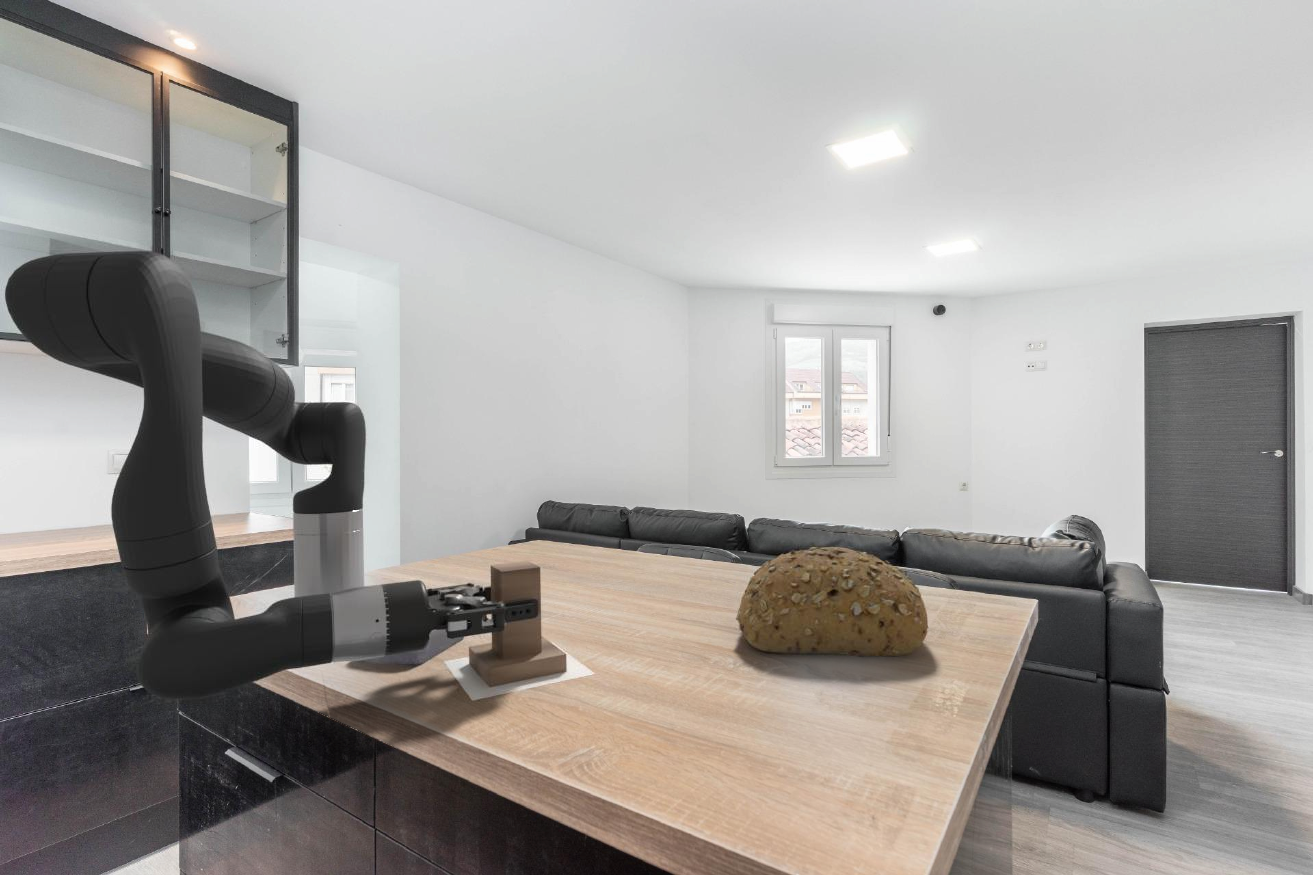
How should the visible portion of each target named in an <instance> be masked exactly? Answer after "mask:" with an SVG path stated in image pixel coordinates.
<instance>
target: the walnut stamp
mask: <svg viewBox="0 0 1313 875" xmlns="http://www.w3.org/2000/svg"><path fill="white" fill-rule="evenodd" d="M490 586H491V601H494V602H498V601H502V602H504V601H511V600H518V599H525V598H535V599H537V600H538V616H537V617H536V618H533V619H526V620H520V621H514V622H508V623H506V625H505V630H504V631H501V632H492V633H491V642H488V643H482V644H477V645H476V644H475V645H472V646H468V657H469V664H470V665H471V666H472V667H473V668H474V670H475V671H476V672H477V673H478V674H479V675H480V677H481V678H482V679H483V680H484V681H485V682H486V684H487V685H488V686H489V687H494V686H498V685H503V684H508V683H513V682H517V681H522V680H527V679H532V678H537V677H541V676H546V675H551V674H556V673H560V672H565V671H567V663H566V653H567V652H566V653H564V652H563V651H564V650H563V649H562V650H563V651H562V650H560V649H559V648H560V647H559V646H558V647H559V648H558V647H556V646H555V645H556V644H555V645H553V644H552V643H553V642H552V641H550V640H548V639H547V638H546V637H544V636H543V635H542V594H541V592H542V591H541V590H542V589H541V588H542V587H541V586H542V585H541V566H539V565H537V564H534V563H532V562H531V561H529V560H525V561H517V562H516V561H515V562H508V563H507V562H506V563H500V564H499V563H498V564H491V565H490ZM490 615H491V618H490V619H493V614H490ZM551 642H552V643H551Z"/></svg>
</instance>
